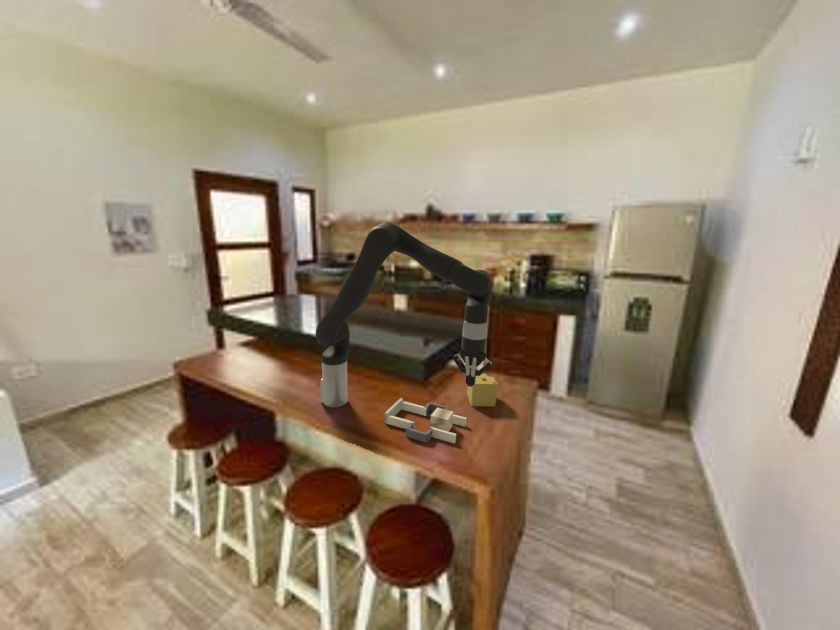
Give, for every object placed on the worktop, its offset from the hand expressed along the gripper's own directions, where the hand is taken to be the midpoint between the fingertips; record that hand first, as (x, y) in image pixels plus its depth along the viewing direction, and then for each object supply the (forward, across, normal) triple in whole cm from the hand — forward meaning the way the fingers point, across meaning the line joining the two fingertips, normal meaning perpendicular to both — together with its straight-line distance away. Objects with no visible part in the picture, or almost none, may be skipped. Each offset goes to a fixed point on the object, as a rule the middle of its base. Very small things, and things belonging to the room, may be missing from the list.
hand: (470, 385), depth 119 cm
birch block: (+19, -9, 0) cm, 21 cm away
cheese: (+19, -2, +26) cm, 32 cm away
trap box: (+19, -15, 0) cm, 24 cm away
